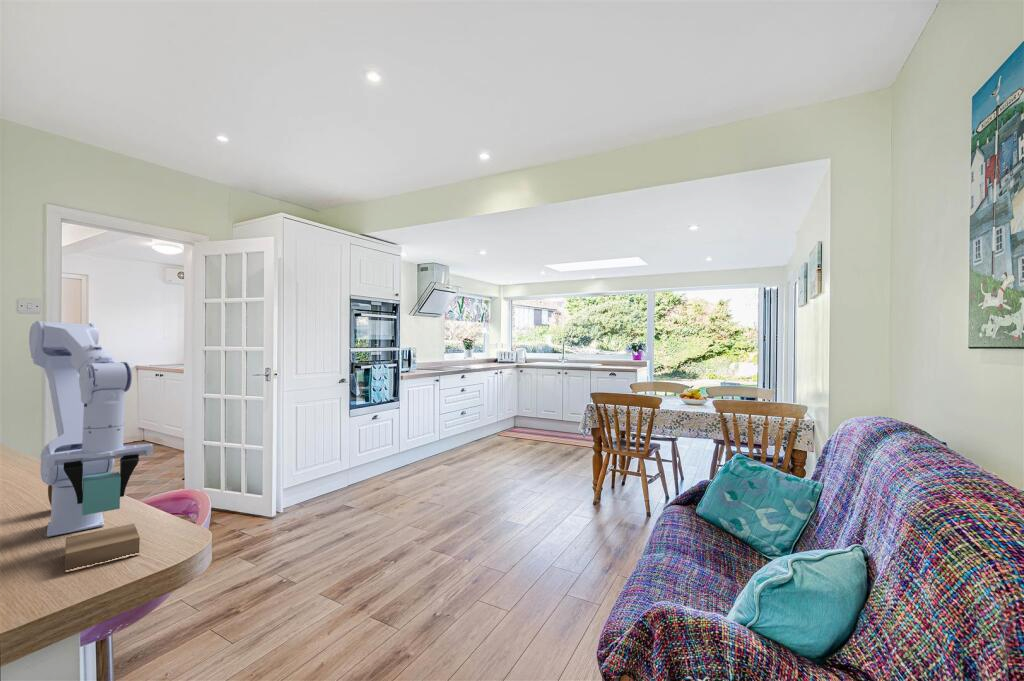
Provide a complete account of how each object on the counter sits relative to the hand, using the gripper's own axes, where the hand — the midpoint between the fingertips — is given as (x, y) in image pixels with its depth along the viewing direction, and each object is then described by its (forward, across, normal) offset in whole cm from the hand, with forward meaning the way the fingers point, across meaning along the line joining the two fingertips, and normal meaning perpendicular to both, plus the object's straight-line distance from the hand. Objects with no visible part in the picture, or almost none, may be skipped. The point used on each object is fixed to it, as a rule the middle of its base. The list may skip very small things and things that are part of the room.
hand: (101, 499), depth 82 cm
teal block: (+2, 0, 0) cm, 2 cm away
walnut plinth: (+8, 0, -9) cm, 12 cm away
